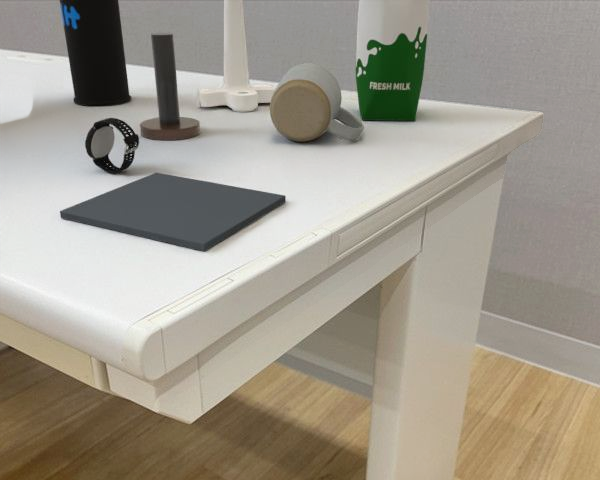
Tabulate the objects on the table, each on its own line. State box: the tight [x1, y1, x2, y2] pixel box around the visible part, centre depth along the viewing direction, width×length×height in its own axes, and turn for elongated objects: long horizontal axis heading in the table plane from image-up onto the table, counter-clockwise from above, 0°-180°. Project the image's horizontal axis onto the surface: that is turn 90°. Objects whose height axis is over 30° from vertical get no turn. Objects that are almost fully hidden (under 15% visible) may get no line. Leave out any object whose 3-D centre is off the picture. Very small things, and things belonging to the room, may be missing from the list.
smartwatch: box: [84, 117, 140, 175], centre depth 61 cm, size 4×5×5 cm
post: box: [139, 32, 201, 141], centre depth 73 cm, size 7×7×11 cm
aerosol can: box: [59, 0, 132, 107], centre depth 88 cm, size 8×8×20 cm
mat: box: [59, 172, 287, 252], centre depth 52 cm, size 14×12×1 cm
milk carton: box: [355, 0, 431, 122], centre depth 81 cm, size 9×9×20 cm
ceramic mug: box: [269, 62, 365, 143], centre depth 73 cm, size 11×8×8 cm
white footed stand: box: [196, 0, 277, 113], centre depth 85 cm, size 11×8×20 cm
